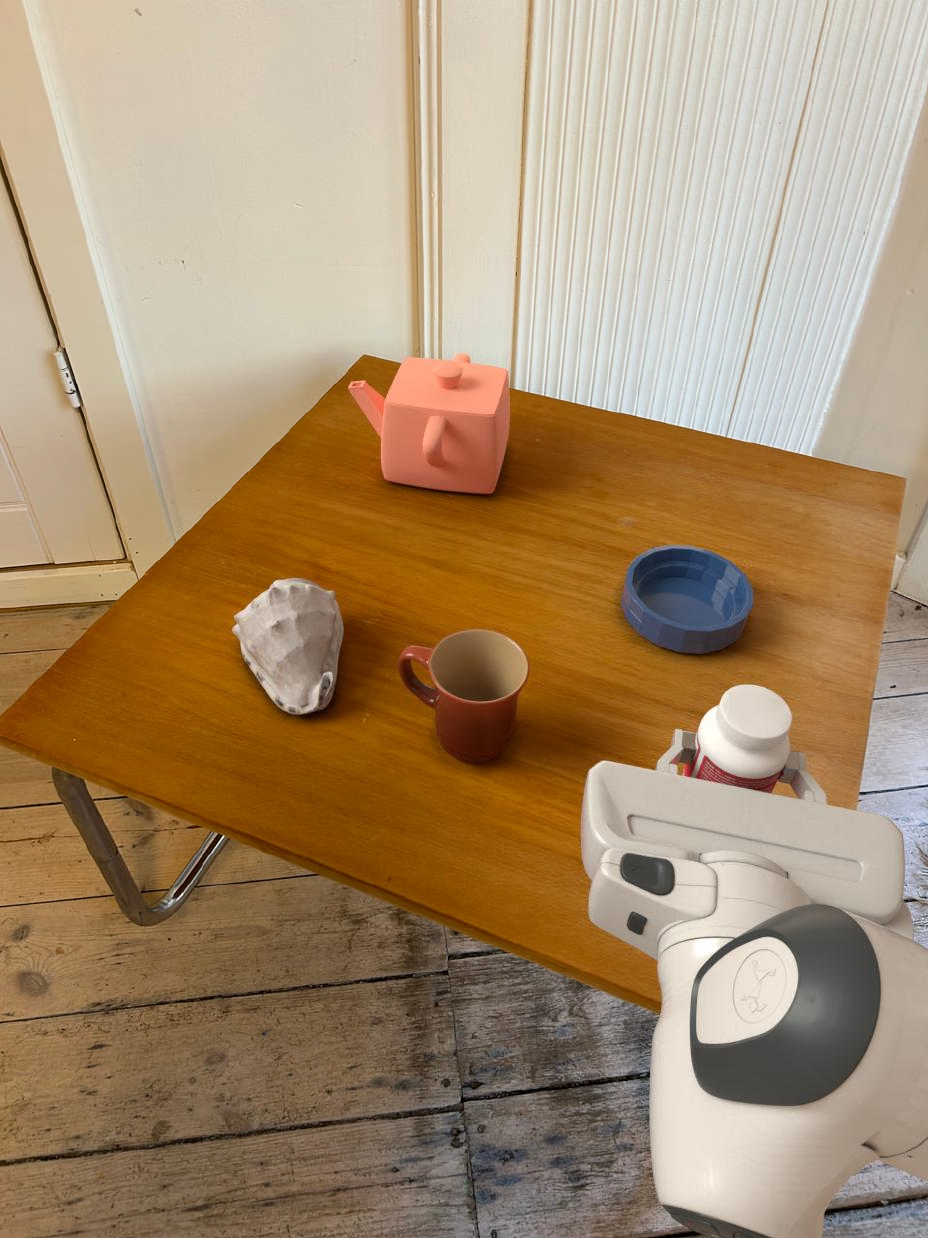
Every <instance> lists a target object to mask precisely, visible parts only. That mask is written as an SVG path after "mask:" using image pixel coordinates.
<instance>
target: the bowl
mask: <svg viewBox="0 0 928 1238" xmlns="http://www.w3.org/2000/svg"><path fill="white" fill-rule="evenodd" d="M620 606H621V609H622V611H623V612H622V613H623V615H624V617H625V620H626V622H628V624H629V625H630V626H631V627H632V628H633V629H634V630H635V631H636V632H637V633H638V634H639V636H641V637H643V638H645V639H646V640H648V641H650V642H651V643H653V644H654V645H656V646H658V647H661V648H663V649H668V650H670V651H674V652H678V653H683V654H707V653H711V652H716V651H721V650H724V649H725V648H727V647H729V646H730V645H732V644H733V643H735V642H736V641H738V640H739V638H740V636H741V635H742V633H743V631H744V630H745V628H746V626H747V623H748V621H749V617H750V616H751V613H752V609H753V608H754V588H753V587H752V584H751V582H750V580H749V579H748V576H747V575H746V574H745V572H744V571H742V570H741V569H740V568H739V567H738V566H737V565H736V564H735V563H734V562H733V561H731V560H729V559H727V558H726V557H724V556H722V555H720V554H718V553H716V552H715V551H712V550H708V549H705V548H701V547H697V546H694V545H685V544H683V545H682V544H668V545H660V546H656V547H653V548H650V549H647V550H645V551H643V552H642V553H641V554H638V555H637V556H636V557H635V558H634V559H633V560H632V561H631V563H630V564H629V565H628V567H627V569H626V574H625V578H624V583H623V587H622V593H621V599H620Z"/></svg>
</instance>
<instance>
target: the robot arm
mask: <svg viewBox="0 0 928 1238" xmlns="http://www.w3.org/2000/svg"><path fill="white" fill-rule="evenodd" d="M696 734H697V732H694V731H689V730H685V729H680V728H675V729H674V731H673V734H672V738H671V742H670V748H669V749H668V750H667V751H666V752H665V753H664V754H663V755H662V756H661V757H660V758H659V759H658V760H657V762H656V765H655V769H650V768H646V767H640V766H635V765H630V764H625V763H621V762H615V761H610V760H600V761H599V762H597V763H596V764H594V765H593V766H591V768H589V770H588V772H587V775H586V779H585V783H584V788H583V795H582V796H583V797H582V804H581V813H580V852H581V861H582V865H583V869H584V871H585V873H586V875H587V876H588V878H589V879H590V881H591V883H590V886H589V887H590V888H589V892H588V901H587V902H588V904H587V911H588V913H587V914H588V919H589V921H590V922H591V923H592V924H593V925H594V926H596V927H597V928H599V929H600V930H602V931H604V932H606V933H607V934H610V935H611V936H614V937H615V938H617V939H618V940H621V941H623V942H625V943H626V944H628V945H629V946H631V947H633V948H635V949H637V950H638V951H640V952H641V953H643V954H645V955H647V956H648V957H650V958H651V959H653V960H654V961H656V962H657V964H656V965H657V967H656V968H657V969H656V970H657V978H658V984H659V987H660V992H661V1009H660V1014H659V1017H658V1020H657V1023H656V1025H655V1028H654V1031H653V1034H652V1040H651V1051H650V1069H649V1094H648V1095H649V1098H648V1099H649V1101H648V1102H649V1104H648V1105H649V1107H648V1108H649V1109H648V1110H649V1114H648V1115H649V1122H648V1123H649V1146H650V1147H649V1148H650V1159H651V1168H652V1169H651V1170H652V1177H653V1181H654V1182H653V1183H654V1188H655V1192H656V1197H657V1199H658V1202H659V1204H660V1206H661V1207H662V1208H663V1209H664V1210H665V1211H666V1212H667V1213H668V1214H669V1215H670V1217H671V1218H672V1219H673V1220H674V1221H675V1222H677V1223H679V1224H680V1225H682V1226H683V1227H685V1228H687V1229H688V1230H691V1231H693V1232H695V1233H698V1234H700V1235H703V1236H706V1237H707V1238H822V1237H823V1230H824V1221H825V1212H826V1211H827V1208H828V1207H829V1205H830V1203H831V1202H832V1200H833V1198H834V1197H835V1196H836V1195H837V1193H838V1192H839V1191H840V1189H841V1188H842V1187H843V1186H844V1185H845V1184H846V1183H847V1182H848V1180H850V1179H851V1178H852V1177H853V1176H854V1175H855V1174H857V1173H858V1172H859V1171H860V1170H862V1169H863V1168H865V1167H866V1166H868V1165H870V1164H873V1163H874V1162H876V1161H878V1162H881V1163H884V1164H885V1165H888V1166H890V1167H893V1168H894V1169H897V1170H900V1171H901V1172H904V1173H906V1174H909V1175H912V1176H914V1177H916V1178H918V1179H921V1180H923V1181H926V1182H928V948H927V947H926V946H924V945H923V944H921V943H919V942H917V941H915V940H914V938H915V937H914V936H915V934H914V933H915V932H914V926H913V919H912V914H911V910H910V908H909V906H908V904H907V903H906V902H905V900H904V892H905V880H906V853H905V840H904V834H903V832H902V831H901V829H900V828H899V827H898V826H897V825H896V823H894V821H893V820H892V819H891V818H890V817H889V816H886V815H882V814H877V813H872V812H867V811H864V810H863V811H861V810H858V809H851V808H846V807H842V806H837V805H833V804H832V805H831V804H828V798H827V797H828V796H827V793H826V792H825V790H824V789H823V788H822V787H821V785H820V784H819V783H818V782H817V780H816V779H815V778H814V776H813V775H812V774H811V772H810V771H808V761H807V754H806V753H805V752H799V751H797V750H796V751H795V750H790V753H789V757H788V759H787V762H786V765H785V766H784V768H783V770H782V772H781V775H780V777H779V779H778V781H777V782H778V783H781V784H787V785H789V786H790V788H791V789H792V791H793V793H794V794H795V796H796V797H797V798H796V797H791V796H786V795H781V794H776V793H773V792H772V793H767V792H762V791H757V790H752V789H747V788H742V787H736V786H731V785H726V784H721V783H716V782H711V781H706V780H701V779H696V778H691V777H686V776H682V774H680V775H679V774H678V773H679V766H678V765H679V764H685V765H686V764H691V761H692V757H693V755H694V753H695V750H696V741H695V739H696Z"/></svg>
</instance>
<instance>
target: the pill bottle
mask: <svg viewBox="0 0 928 1238" xmlns="http://www.w3.org/2000/svg"><path fill="white" fill-rule="evenodd" d="M792 724H793V714H792V711H791V708H790V706H789V705H788V704H787V702H786V700H784V699H783V698H782V697H781V696H780V695H779V694H777V693H776V692H774V691H773V690H770V689H769V688H766V687H764V686H760V685H757V684H739V685H735V686H733V687H730V688H729V689H727V690H726V691H725V692H724V693H723V695H722V696H721V699H720V701H719V703H718V705H715V706H714V707H712V708H711V709H709V710H708V711H707V712H706V713H705V714H704V716H702V718H701V720H700V723H699V725H698V728H697V730H696V739H695V741H696V750H695V753H694V755H693V757H692V761H691V764H685V765H684V768H683V771H682V773H681V776H686V777H691V778H696V779H701V780H706V781H711V782H716V783H721V784H726V785H731V786H736V787H742V788H747V789H752V790H757V791H762V792H767V793H772V794H773V791H774V789H775V787H776V785H777V782H778V779H779V777H780V775H781V772H782V770H783V768H784V766H785V765H786V762H787V759H788V757H789V753H790V751H791V741H790V737H789V731H790V729H791V727H792Z"/></svg>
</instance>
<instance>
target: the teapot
mask: <svg viewBox="0 0 928 1238" xmlns="http://www.w3.org/2000/svg"><path fill="white" fill-rule="evenodd" d="M509 379H510V378H509V370H508V369H507V368H504V367H499V366H494V365H489V364H482V363H481V364H480V363H475V362H471V357H470V355H468V354H467V353H464V352H460V353H456V354H455V355H454V356H453V357H452V360H448V359H439V358H427V357H411V356H410V357H409V356H408V357H405V358H404V359H403V361H402V362H401V364H400V366H399V368H398V370H397V372H396V374H395V376H394V379H393V381H392V383H391V385H390V387H389V390H388V392H387V394H386V396H385V397H384V396H383V395H382V394H381V393H379V391H376V390H375V389H374V388H373V387H372V386H370V385H369V384H368V383H367V380H357V381H355V380H354V381H351V382H350V383H349V384H348V387H347V389H348V391H349V393H350V395H351V396H352V397H353V399H354V401H355V402H356V403H357V405H358V407H359V408H360V410H361V411H362V412H363V414H364V415H365V417H366V418H367V420H368V422H369V423H370V424H371V426H372V427H373V429H374V430H375V432H376V434H377V435H378V437H379V438H380V465H381V470H382V475H383V478H384V480H385V481H388V482H391V483H396V484H402V485H407V486H412V487H419V488H425V489H429V490H431V489H432V490H437V491H448V492H457V493H467V494H468V493H469V494H480V495H481V494H482V495H490V494H493V493H494V492H495V489H496V487H497V483H498V480H499V476H500V473H501V470H502V467H503V462H504V459H505V454H506V451H507V445H508V440H509V436H510V427H511V397H510V396H511V395H510V394H511V393H510V380H509Z"/></svg>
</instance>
